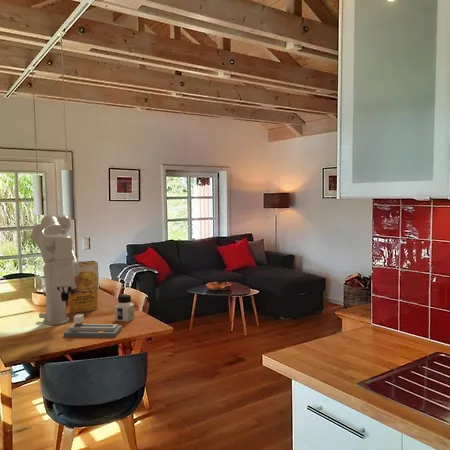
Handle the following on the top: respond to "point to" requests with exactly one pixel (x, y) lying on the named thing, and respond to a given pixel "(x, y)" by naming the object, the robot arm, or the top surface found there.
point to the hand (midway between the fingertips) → (65, 300)
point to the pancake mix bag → (85, 288)
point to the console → (93, 330)
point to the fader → (78, 320)
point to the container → (124, 308)
